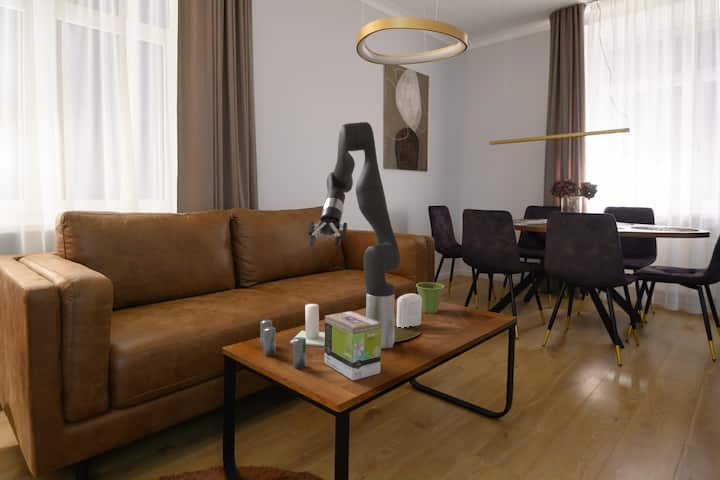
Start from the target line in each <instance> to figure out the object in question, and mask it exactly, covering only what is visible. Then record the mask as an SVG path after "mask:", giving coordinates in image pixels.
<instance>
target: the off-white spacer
mask: <svg viewBox="0 0 720 480" xmlns="http://www.w3.org/2000/svg"><path fill="white" fill-rule="evenodd" d="M319 306H320V305H319V304H318V303H317V304H316V303H307V304H305V310H304V311H305V313H304V314H305V318H304V319H305V331H306V338H307V339H317V338H319V332H320V313H319V311H320V308H319Z"/></svg>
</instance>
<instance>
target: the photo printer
mask: <svg viewBox="0 0 720 480" xmlns="http://www.w3.org/2000/svg"><path fill="white" fill-rule="evenodd" d="M421 310H422V298H421V296H420V295H419V293H418V294H417V293H406V294H405V293H404V294H403V295H400V296H399V297H398V298H397V300H396V316H395V321H396V323H395V326H396V327H397V328H398V327H401V328H400V329H405V328H404V327H407V328H410V327H409V326H412V327H418V326H420V325H422V311H421Z"/></svg>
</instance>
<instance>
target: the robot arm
mask: <svg viewBox="0 0 720 480" xmlns="http://www.w3.org/2000/svg"><path fill="white" fill-rule="evenodd" d="M376 150H377V149H376V143H375V136H374V130H373V128H372V126H371V124H370V123H369V122H367V121H364V122H363V121H361V122H350V123H349V122H348V123H345V124H342V125H341V126H340V128H339V133H338V141H337V159H336V163H335V165H334V170H333V171H332V172H331V171H330V173H328V175H327V177H326V187H327V193H326V199H325V201H324V204H323V208H322V212H321V216H320V219H319V221H318V223H315V221H310V224H309V228H308V230H307V236H308V238H309V239H310V242H309V243H310V246H311V247H312V248H315V246H316V241H317V239H318V238H320V237H321V236H323V235H325V236H326V235H329V236H332V235H334V236H335V240H334V248H335V249H338V248H339V246H340V244H341V241H342V240H346V239H347V238H348V237H347V236H348V230H349V229H348V227H349V226H348V222H343V223H341V220H342V217H343V213H344V205H345V199H346V194H345V193H349V192H350V191H351V190H352V188H353V185H354V184H353V182H354V181H353V179H354V178H353V174H354V170H355V167H356V165H355V164H356V163H355V162H356V161H355V158H354V157H353V155H351V153H350V152H357V151H363V152H364V163H363V167H362V169H361V172H360V174H359V178H358V180H357V182H356V185H355V195H356V199H357V204H358V209H359V211H360V212H361V214H362V216H363V217H364V218H365V220H366V222H367V223H368V224H369V225H370V226H371V228H372V230H373V231H374V234H375V236H376V241H377V244H374V245H369V246H368V247H367V248H366V249H365V252H364V254H363V281H364V285H365V290H366V291H365V293H366V294H365V296H366V297H365V298H366V299H365V300H366V301H365V303H366V304H365V305H366V306H365V312H366V313H365V316H366V317H368V318H371V319H373V320H376V321H379V322H381V350H383V349H393V347H394V344H395V326H396V323H395V321H396V315H395V294H396V293H395V292H396V289H395V285H394V284H393V283H391V282H388V281H387V280H386V274H385V273H390V272H395V271H396V270H398V268H399V267H400V266H401V254H400V249H399V245H398V242H397V240H396V237H395V233H394V230H393V227H392V222H391V219H390V215H389V211H388V206H387V205H388V204H387V199H386V195H385V190H384V186H383V182H382V181H383V180H382V178H381V177H382V176H381V173H380V169H379V163H378V159H377V158H378V157H377V151H376ZM340 229H341V230H342V233H340V232H339V230H340Z"/></svg>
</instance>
